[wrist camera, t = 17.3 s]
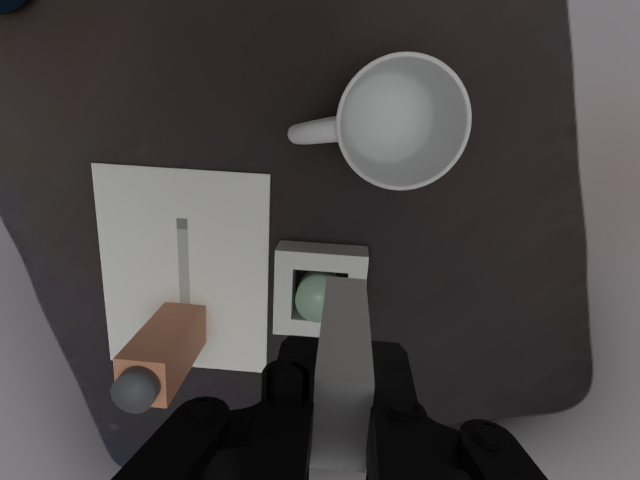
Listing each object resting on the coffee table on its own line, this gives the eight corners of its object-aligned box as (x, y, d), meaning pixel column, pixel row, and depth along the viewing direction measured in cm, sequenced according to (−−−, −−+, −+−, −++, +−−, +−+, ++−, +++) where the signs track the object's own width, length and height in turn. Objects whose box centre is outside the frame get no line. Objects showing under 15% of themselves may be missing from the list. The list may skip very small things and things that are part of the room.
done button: (299, 265, 41) (296, 278, 38) (343, 269, 40) (343, 281, 38) (298, 305, 42) (294, 321, 39) (340, 309, 42) (340, 324, 39)
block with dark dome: (165, 301, 43) (103, 369, 32) (205, 305, 43) (157, 374, 32) (166, 338, 44) (107, 415, 34) (206, 342, 44) (159, 420, 33)
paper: (93, 162, 40) (90, 163, 40) (270, 174, 39) (270, 174, 39) (112, 358, 46) (110, 359, 46) (266, 371, 45) (266, 373, 45)
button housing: (280, 240, 41) (274, 250, 38) (367, 246, 41) (368, 257, 38) (277, 318, 43) (272, 334, 41) (360, 325, 43) (361, 340, 40)
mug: (302, 177, 39) (286, 202, 29) (289, 77, 37) (267, 68, 27) (441, 162, 38) (473, 183, 28) (437, 58, 36) (471, 42, 26)
